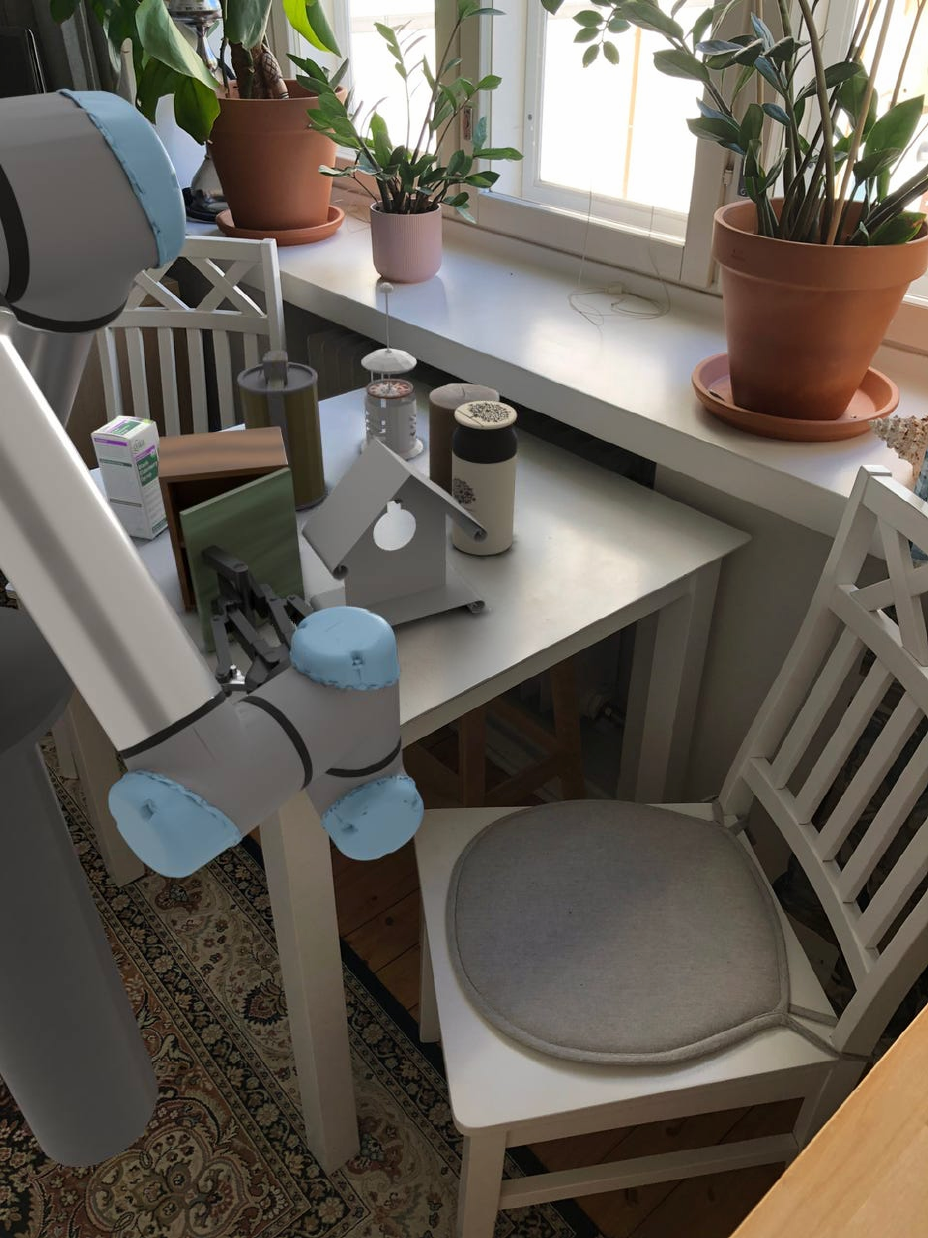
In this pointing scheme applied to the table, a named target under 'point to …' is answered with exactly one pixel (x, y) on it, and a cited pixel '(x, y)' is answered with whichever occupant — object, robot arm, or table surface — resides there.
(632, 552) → the table surface
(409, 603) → the grey house-shaped piece
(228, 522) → the door
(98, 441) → the syrup box
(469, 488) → the travel mug
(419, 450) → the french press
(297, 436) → the canister
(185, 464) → the compartment
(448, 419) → the pillar candle
